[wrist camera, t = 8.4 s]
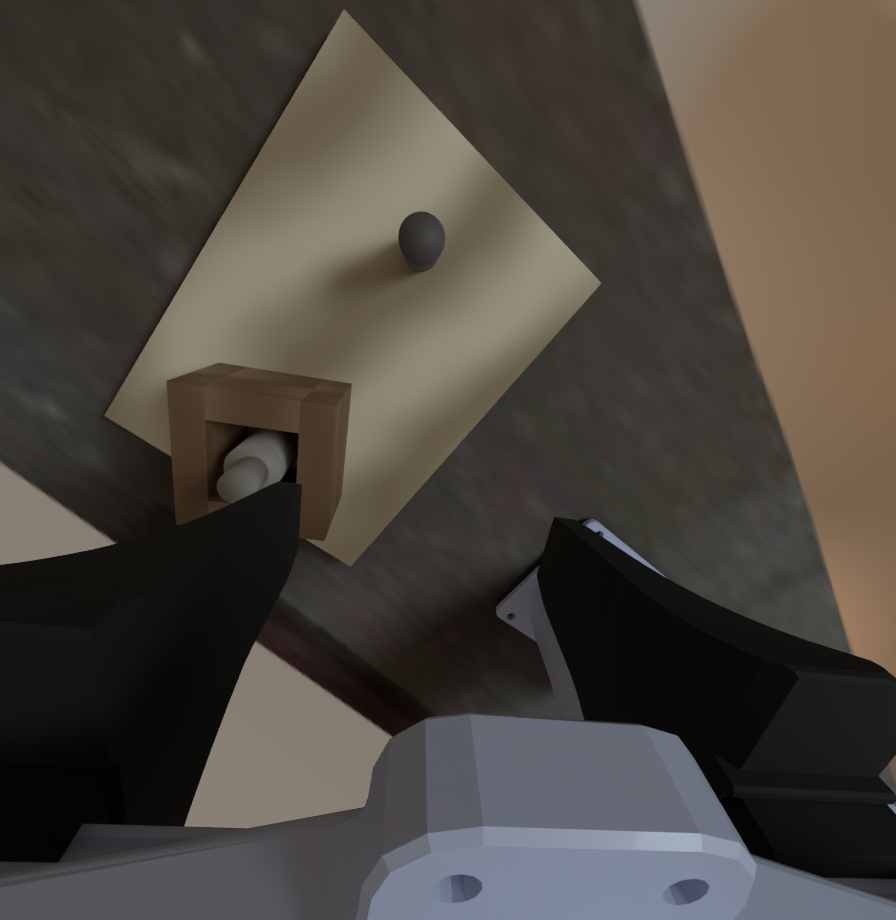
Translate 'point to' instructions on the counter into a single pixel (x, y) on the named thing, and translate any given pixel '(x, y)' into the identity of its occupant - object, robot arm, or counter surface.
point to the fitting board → (364, 287)
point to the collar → (264, 406)
